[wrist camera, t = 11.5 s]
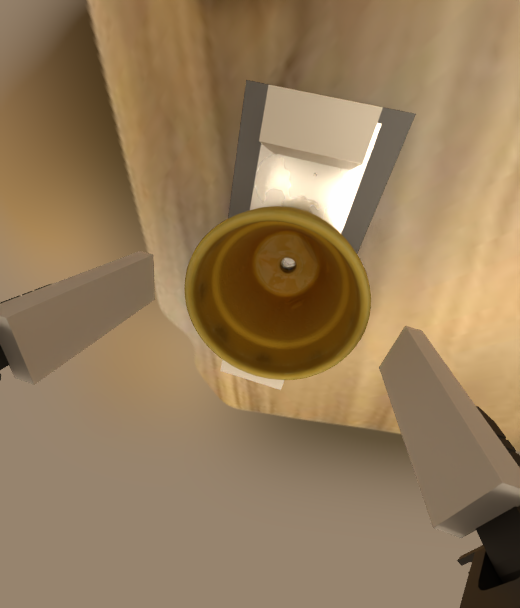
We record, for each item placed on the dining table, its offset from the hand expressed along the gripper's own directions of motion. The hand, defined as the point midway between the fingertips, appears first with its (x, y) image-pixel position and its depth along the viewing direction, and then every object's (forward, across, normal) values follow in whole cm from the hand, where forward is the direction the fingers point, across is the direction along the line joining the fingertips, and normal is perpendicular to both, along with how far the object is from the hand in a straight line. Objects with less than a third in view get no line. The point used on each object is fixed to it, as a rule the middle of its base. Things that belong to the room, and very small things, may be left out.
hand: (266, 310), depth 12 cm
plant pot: (+10, 0, 0) cm, 11 cm away
